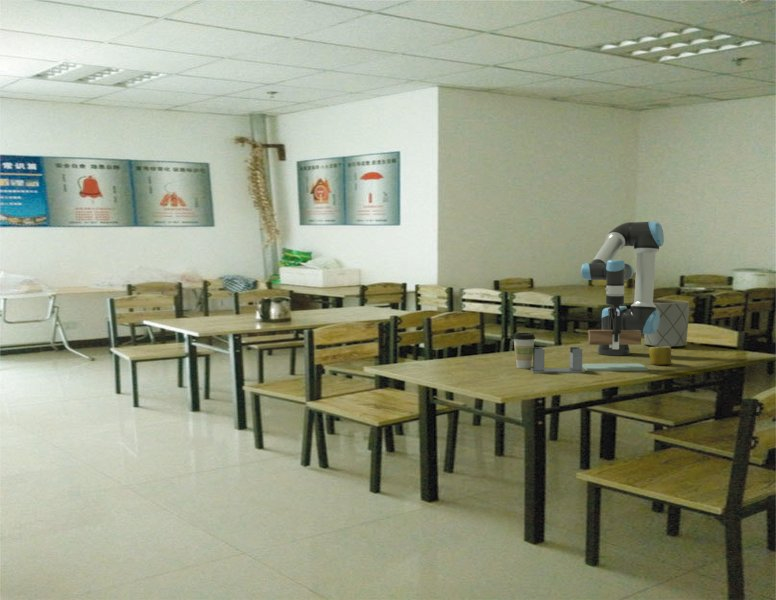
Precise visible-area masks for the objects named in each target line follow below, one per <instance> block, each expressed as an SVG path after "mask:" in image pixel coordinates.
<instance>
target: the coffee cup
mask: <svg viewBox="0 0 776 600" xmlns="http://www.w3.org/2000/svg"><path fill="white" fill-rule="evenodd" d="M512 339H513V346H514V354H515V355H514V356H515V362H516V363H515V364H516V368H517V369H523V370H524V369H530V368H532V363H533V347H535V345H534V344H535V339H536V336H535V334H534V333H532V332H515V333H514V334H513V337H512Z"/></svg>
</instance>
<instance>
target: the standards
mask: <svg viewBox="0 0 776 600" xmlns="http://www.w3.org/2000/svg"><path fill="white" fill-rule="evenodd" d="M582 364H583V348H580V347H579V346H573V347H572V346H571V347H569V367H545V349H544V348H543V346H542V347H541V346H540V347H535V346H534V347H533V357H532V367H531V368H529V370H530V371H531V373H532V374H578V373H579V374H585V373H586V371H585V369H584V368H583V367H582Z"/></svg>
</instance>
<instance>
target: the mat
mask: <svg viewBox="0 0 776 600" xmlns="http://www.w3.org/2000/svg"><path fill="white" fill-rule="evenodd" d="M582 369H583V370H586V371H588V372H589V371H591V372H592V371H593V372H594V371H595V372H596V371H597V372H598V371H599V372H600V371H601V372H602V371H603V372H605V371H606V372H607V371H608V372H609V371H611V372H612V371H615V372H616V371H622V372H623V371H625V372H627V371H629V372H630V371H631V372H633V371H639V372H640V371H649V368H648V367H647V366H645V365H643V364H642V363H582Z"/></svg>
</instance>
